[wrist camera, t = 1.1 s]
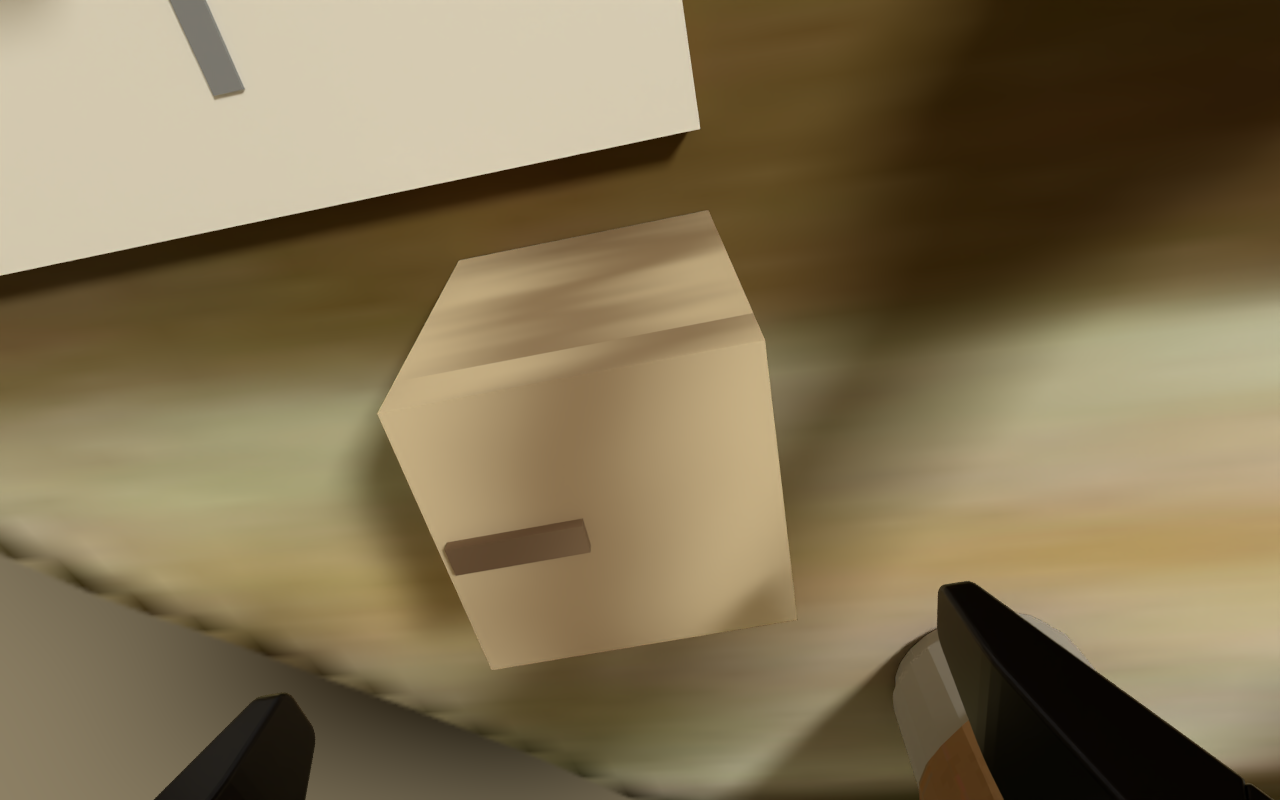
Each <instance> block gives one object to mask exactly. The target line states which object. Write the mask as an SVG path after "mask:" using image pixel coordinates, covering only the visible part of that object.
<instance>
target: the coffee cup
mask: <svg viewBox="0 0 1280 800" xmlns="http://www.w3.org/2000/svg"><path fill="white" fill-rule="evenodd" d="M1017 614H1018V615H1020V616H1021V617H1022V618H1024V619H1025V620H1026V621H1028V622H1029V623H1031V624H1032V625H1033V626H1035V627H1036V628H1037V629H1039V630H1040V631H1042V632H1043V633H1044V634H1046V635H1047V636H1049V637H1050V638H1051V639H1053V640H1054V641H1055V642H1057V643H1058V644H1060V645H1061V646H1062V647H1064V648H1065V649H1066V650H1068V651H1069V652H1071V653H1072V654H1073V655H1075V656H1076V657H1077V658H1079V659H1080V660H1082V661H1083V662H1084V663H1086V664H1087V665H1088V666H1090V667H1091V668H1093V669H1094V667H1093V666H1092V665H1091V664H1090V663H1089V661H1088V660H1087V659H1086V658H1085V656H1084V655H1083V654H1082V653H1081V651H1080V650H1079V649H1078V648H1077V646H1076V645H1075V644H1074V643H1073V642H1072V641H1071V640H1070V639H1069V638H1068V636H1067V635H1066V634H1064V633H1062V632H1060V631H1058V630H1057V629H1055V628H1053V627H1051V626H1049V625H1048V624H1046V623H1044V622H1042V621H1040V620H1038V619H1036V618H1034V617H1033V616H1029V615H1024V614H1020V613H1017ZM1094 670H1095V669H1094ZM1095 671H1096V670H1095ZM895 684H896V686H895V689H894V692H893V705H894V712H895V715H896V718H897V721H898V725H899V728H900V731H901V734H902V737H903V740H904V744H905V747H906V750H907V753H908V756H909V760H910V763H911V766H912V769H913V772H914V775H915V779H916V782H917V785H918V788H919V799H920V800H1004V799H1003V797H1002V795H1001V793H1000V791H999V789H998V787H997V785H996V783H995V781H994V779H993V777H992V775H991V773H990V771H989V769H988V767H987V764H986V762H985V760H984V758H983V756H982V753H981V751H980V748H979V746H978V743H977V741H976V738H975V735H974V733H973V730H972V727H971V725H970V722H969V719H968V717H967V714H966V711H965V709H964V706H963V703H962V701H961V698H960V695H959V693H958V690H957V688H956V685H955V682H954V680H953V677H952V674H951V672H950V669H949V666H948V664H947V661H946V658H945V656H944V653H943V650H942V648H941V645H940V641H939V637H938V632H937V629H936V630H934V631H933V632H931V633H929V634H927V635H926V636H924V637H923V638H922V639H921V640H920V641H919V642H918V643H916V644H915V645H914V646H913V647H912V648H911V649H910V650H909V651H908V653H907V654H906V656H905V657H904V658H903V660H902V661H901V663H900V665H899V668H898V671H897V674H896V677H895Z"/></svg>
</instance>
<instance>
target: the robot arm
mask: <svg viewBox="0 0 1280 800" xmlns="http://www.w3.org/2000/svg"><path fill="white" fill-rule="evenodd" d="M937 632H938V637H939V641H940V645H941V648H942V650H943V653H944V656H945V658H946V661H947V664H948V666H949V669H950V672H951V674H952V677H953V680H954V682H955V685H956V688H957V690H958V693H959V695H960V698H961V701H962V703H963V706H964V709H965V711H966V714H967V717H968V719H969V722H970V725H971V727H972V730H973V733H974V735H975V738H976V741H977V743H978V746H979V748H980V751H981V753H982V756H983V758H984V760H985V762H986V764H987V767H988V769H989V771H990V773H991V775H992V777H993V779H994V781H995V783H996V785H997V787H998V789H999V791H1000V793H1001V795H1002V797H1003V799H1004V800H1273V799H1272V798H1271V797H1269V796H1268V795H1266V794H1265V793H1264V792H1262V791H1261V790H1260V789H1258V788H1257V787H1255V786H1254V785H1253V784H1250V783H1248V784H1246V785H1245V781H1244V779H1243V778H1242V777H1241V776H1240V775H1239V774H1237V773H1236V772H1234V771H1233V770H1232V769H1230V768H1229V767H1227V766H1226V765H1225V764H1223V763H1222V762H1221V761H1219V760H1218V759H1216V758H1215V757H1214V756H1212V755H1211V754H1210V753H1208V752H1207V751H1205V750H1204V749H1203V748H1201V747H1200V746H1199V745H1197V744H1196V743H1194V742H1193V741H1192V740H1190V739H1189V738H1188V737H1186V736H1185V735H1183V734H1182V733H1181V732H1179V731H1178V730H1177V729H1175V728H1174V727H1172V726H1171V725H1170V724H1168V723H1167V722H1166V721H1164V720H1163V719H1161V718H1160V717H1159V716H1157V715H1156V714H1155V713H1153V712H1152V711H1150V710H1149V709H1148V708H1146V707H1145V706H1144V705H1142V704H1141V703H1139V702H1138V701H1137V700H1135V699H1134V698H1132V697H1131V696H1130V695H1128V694H1127V693H1126V692H1124V691H1123V690H1121V689H1120V688H1119V687H1117V686H1116V685H1115V684H1113V683H1112V682H1110V681H1109V680H1108V679H1106V678H1105V677H1104V676H1102V675H1101V674H1099V673H1098V672H1097V671H1095V670H1094V669H1093V668H1091V667H1090V666H1088V665H1087V664H1086V663H1084V662H1083V661H1082V660H1080V659H1079V658H1077V657H1076V656H1075V655H1073V654H1072V653H1071V652H1069V651H1068V650H1066V649H1065V648H1064V647H1062V646H1061V645H1060V644H1058V643H1057V642H1055V641H1054V640H1053V639H1051V638H1050V637H1049V636H1047V635H1046V634H1044V633H1043V632H1042V631H1040V630H1039V629H1037V628H1036V627H1035V626H1033V625H1032V624H1031V623H1029V622H1028V621H1026V620H1025V619H1024V618H1022V617H1021V616H1020V615H1018V614H1017V613H1015V612H1014V611H1013V610H1011V609H1010V608H1009V607H1007V606H1006V605H1004V604H1003V603H1002V602H1000V601H999V600H998V599H996V598H995V597H993V596H992V595H991V594H989V593H988V592H987V591H985V590H984V589H982V588H981V587H980V586H978V585H977V584H975V583H973V582H970V581H964V582H958V583H951V584H945V585H942V586H941V587H940V588H939V591H938V610H937ZM314 747H315V733H314V730H313V727H312V725H311V723H310V722H309V721H308V719H307V717H306V716H305V714H304V713H303V711H302V710H301V708H300V707H299V705H298V704H297V702H296V701H295V699H294V698H293V697H292V696H291V695H290V694H288V693H277V694H271V695H265V696H261V697H258V698H256V699H255V700H254V701H252V702H251V703H250V704H249V705H248V706H247V707H246V708H245V709H244V710H243V711H242V712H241V713H240V714H239V715H238V716H237V717H236V718H235V719H234V720H233V721H232V722H231V723H230V724H229V725H228V726H227V727H226V728H225V729H224V730H223V731H222V732H221V733H220V734H219V735H218V736H217V737H216V738H215V739H214V740H213V741H212V742H211V743H210V744H209V745H208V746H207V747H206V748H205V749H204V750H203V751H202V752H201V753H200V754H199V755H198V756H197V757H196V758H195V759H194V760H193V761H192V762H191V763H190V764H189V765H188V766H187V767H186V768H185V769H184V770H183V771H182V772H181V773H180V774H179V775H178V776H177V777H176V778H175V779H174V780H173V781H172V782H171V783H170V784H169V785H168V786H167V787H166V788H165V789H164V790H163V791H162V792H161V793H160V794H159V795H158V796H157V797H156V798H155V799H154V800H305V798H306V792H307V786H308V781H309V775H310V769H311V764H312V758H313V753H314Z"/></svg>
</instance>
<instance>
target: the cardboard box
mask: <svg viewBox="0 0 1280 800" xmlns="http://www.w3.org/2000/svg"><path fill="white" fill-rule="evenodd" d="M377 414H378V417H379V419H380V421H381V423H382V425H383V428H384V430H385V432H386V434H387V437H388V439H389V441H390V443H391V446H392V448H393V450H394V452H395V455H396V457H397V459H398V461H399V464H400V466H401V468H402V470H403V473H404V475H405V477H406V479H407V482H408V484H409V486H410V488H411V490H412V493H413V495H414V497H415V499H416V502H417V504H418V506H419V508H420V511H421V513H422V515H423V517H424V520H425V522H426V524H427V526H428V529H429V531H430V533H431V535H432V538H433V540H434V542H435V544H436V547H437V549H438V551H439V553H440V555H441V558H442V560H443V562H444V564H445V567H446V569H447V571H448V573H449V576H450V578H451V580H452V582H453V585H454V587H455V589H456V591H457V594H458V596H459V598H460V600H461V603H462V605H463V607H464V609H465V612H466V614H467V616H468V618H469V620H470V623H471V625H472V627H473V629H474V632H475V634H476V636H477V638H478V641H479V643H480V645H481V647H482V650H483V652H484V654H485V656H486V659H487V661H488V663H489V665H490V668H491V670H496V669H502V668H508V667H514V666H520V665H526V664H532V663H539V662H545V661H551V660H557V659H563V658H569V657H575V656H581V655H587V654H593V653H599V652H605V651H611V650H618V649H624V648H630V647H636V646H642V645H648V644H654V643H660V642H666V641H672V640H678V639H684V638H691V637H697V636H703V635H709V634H715V633H721V632H727V631H733V630H739V629H745V628H751V627H757V626H764V625H770V624H776V623H782V622H788V621H794V620H797V612H796V604H795V595H794V586H793V578H792V569H791V560H790V552H789V543H788V535H787V526H786V517H785V509H784V500H783V491H782V483H781V474H780V465H779V457H778V448H777V440H776V431H775V422H774V414H773V405H772V396H771V388H770V379H769V370H768V362H767V353H766V345H765V339H764V337H763V334H762V332H761V330H760V327H759V325H758V323H757V321H756V318H755V316H754V314H753V311H752V309H751V307H750V305H749V302H748V300H747V298H746V295H745V293H744V291H743V289H742V286H741V284H740V282H739V279H738V277H737V275H736V273H735V270H734V268H733V266H732V263H731V261H730V259H729V257H728V254H727V252H726V250H725V247H724V245H723V243H722V241H721V238H720V236H719V234H718V231H717V229H716V227H715V225H714V222H713V220H712V218H711V215H710V213H709V211H708V210H707V211H702V212H697V213H692V214H687V215H682V216H677V217H672V218H667V219H662V220H657V221H652V222H647V223H642V224H637V225H632V226H627V227H623V228H618V229H613V230H608V231H603V232H598V233H593V234H588V235H583V236H578V237H573V238H568V239H563V240H558V241H553V242H548V243H543V244H538V245H534V246H529V247H524V248H519V249H514V250H509V251H504V252H499V253H494V254H489V255H484V256H479V257H474V258H469V259H464V260H459V261H458V263H457V265H456V267H455V269H454V271H453V273H452V274H451V276H450V278H449V280H448V282H447V284H446V286H445V288H444V289H443V291H442V293H441V295H440V297H439V299H438V301H437V303H436V304H435V306H434V308H433V310H432V312H431V314H430V316H429V318H428V319H427V321H426V323H425V325H424V327H423V329H422V331H421V332H420V334H419V336H418V338H417V340H416V342H415V344H414V346H413V347H412V349H411V351H410V353H409V355H408V357H407V359H406V361H405V362H404V364H403V366H402V368H401V370H400V372H399V374H398V376H397V377H396V379H395V381H394V383H393V385H392V387H391V389H390V390H389V392H388V394H387V396H386V398H385V400H384V402H383V404H382V405H381V407H380V409H379V411H378V413H377Z"/></svg>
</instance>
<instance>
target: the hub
mask: <svg viewBox="0 0 1280 800" xmlns="http://www.w3.org/2000/svg"><path fill="white" fill-rule="evenodd" d="M697 129H700V123H699V116H698V109H697V102H696V95H695V88H694V81H693V74H692V67H691V60H690V53H689V46H688V39H687V32H686V25H685V18H684V11H683V4H682V0H0V276H1V275H5V274H10V273H15V272H20V271H25V270H29V269H34V268H39V267H44V266H48V265H53V264H58V263H63V262H67V261H72V260H77V259H82V258H87V257H91V256H96V255H101V254H106V253H110V252H115V251H120V250H125V249H130V248H134V247H139V246H144V245H149V244H153V243H158V242H163V241H168V240H172V239H177V238H182V237H187V236H192V235H196V234H201V233H206V232H211V231H215V230H220V229H225V228H230V227H234V226H239V225H244V224H249V223H254V222H258V221H263V220H268V219H273V218H277V217H282V216H287V215H292V214H297V213H301V212H306V211H311V210H316V209H320V208H325V207H330V206H335V205H339V204H344V203H349V202H354V201H359V200H363V199H368V198H373V197H378V196H382V195H387V194H392V193H397V192H401V191H406V190H411V189H416V188H421V187H425V186H430V185H435V184H440V183H444V182H449V181H454V180H459V179H464V178H468V177H473V176H478V175H483V174H487V173H492V172H497V171H502V170H506V169H511V168H516V167H521V166H526V165H530V164H535V163H540V162H545V161H549V160H554V159H559V158H564V157H568V156H573V155H578V154H583V153H588V152H592V151H597V150H602V149H607V148H611V147H616V146H621V145H626V144H631V143H635V142H640V141H645V140H650V139H654V138H659V137H664V136H669V135H673V134H678V133H683V132H688V131H693V130H697Z"/></svg>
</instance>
